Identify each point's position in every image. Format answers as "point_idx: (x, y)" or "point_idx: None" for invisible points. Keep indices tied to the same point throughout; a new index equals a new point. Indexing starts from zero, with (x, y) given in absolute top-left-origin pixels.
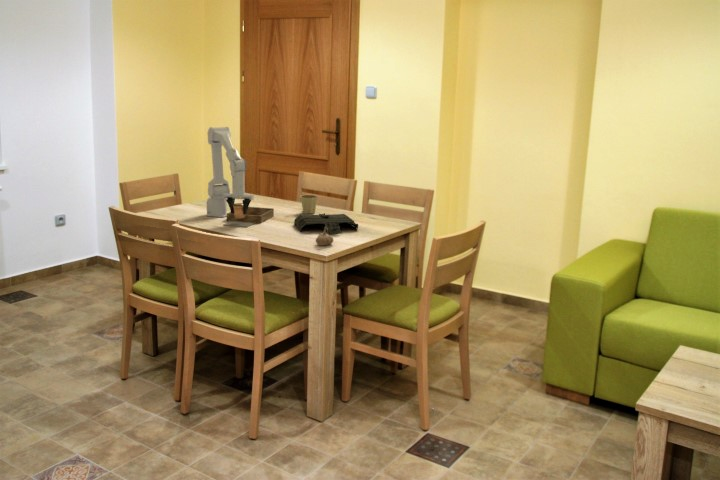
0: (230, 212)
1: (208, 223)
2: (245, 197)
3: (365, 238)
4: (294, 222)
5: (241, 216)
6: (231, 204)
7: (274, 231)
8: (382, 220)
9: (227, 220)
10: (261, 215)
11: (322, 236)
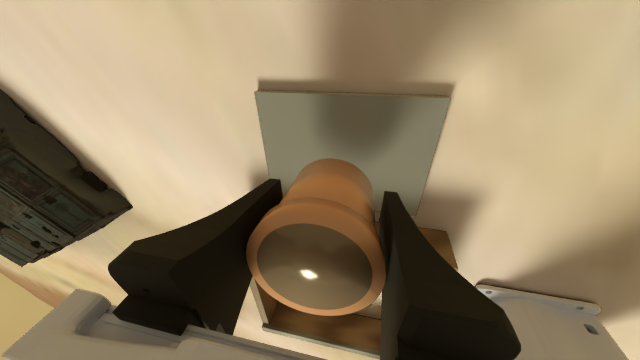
0: None
1: (600, 137)
2: (110, 339)
3: None
4: (101, 198)
5: (303, 170)
6: (396, 260)
7: (62, 35)
8: (37, 270)
9: (442, 231)
10: None
11: None
